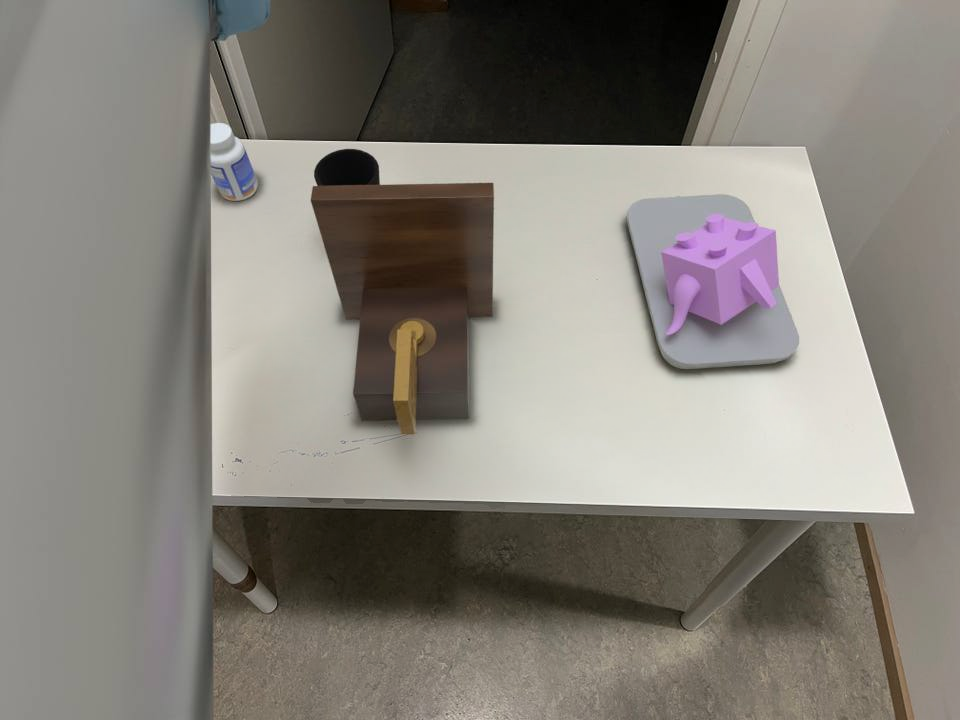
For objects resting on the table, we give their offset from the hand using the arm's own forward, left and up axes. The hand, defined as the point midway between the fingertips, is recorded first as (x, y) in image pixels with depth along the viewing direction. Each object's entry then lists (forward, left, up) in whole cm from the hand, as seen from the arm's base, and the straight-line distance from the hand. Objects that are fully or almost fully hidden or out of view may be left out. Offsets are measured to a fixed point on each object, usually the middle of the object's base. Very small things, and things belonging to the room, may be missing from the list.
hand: (137, 297), depth 58 cm
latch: (+1, -22, -15) cm, 27 cm away
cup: (+26, -14, -22) cm, 37 cm away
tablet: (+17, -58, -22) cm, 64 cm away
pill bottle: (+36, +4, -22) cm, 42 cm away
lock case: (+6, -22, -22) cm, 31 cm away
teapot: (+15, -56, -9) cm, 59 cm away
